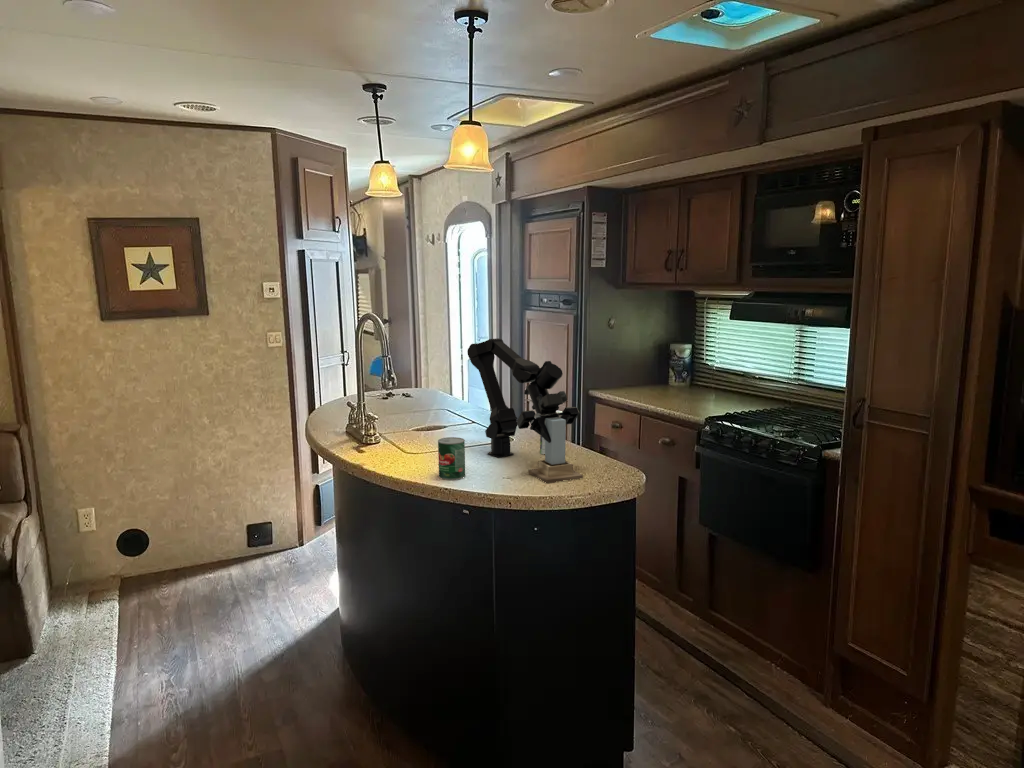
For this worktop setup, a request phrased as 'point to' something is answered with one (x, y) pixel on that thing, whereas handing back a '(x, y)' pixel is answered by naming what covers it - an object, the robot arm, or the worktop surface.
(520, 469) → the worktop surface
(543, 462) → the pocket board
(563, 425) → the slate peg
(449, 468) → the canned tomato
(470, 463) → the worktop surface
